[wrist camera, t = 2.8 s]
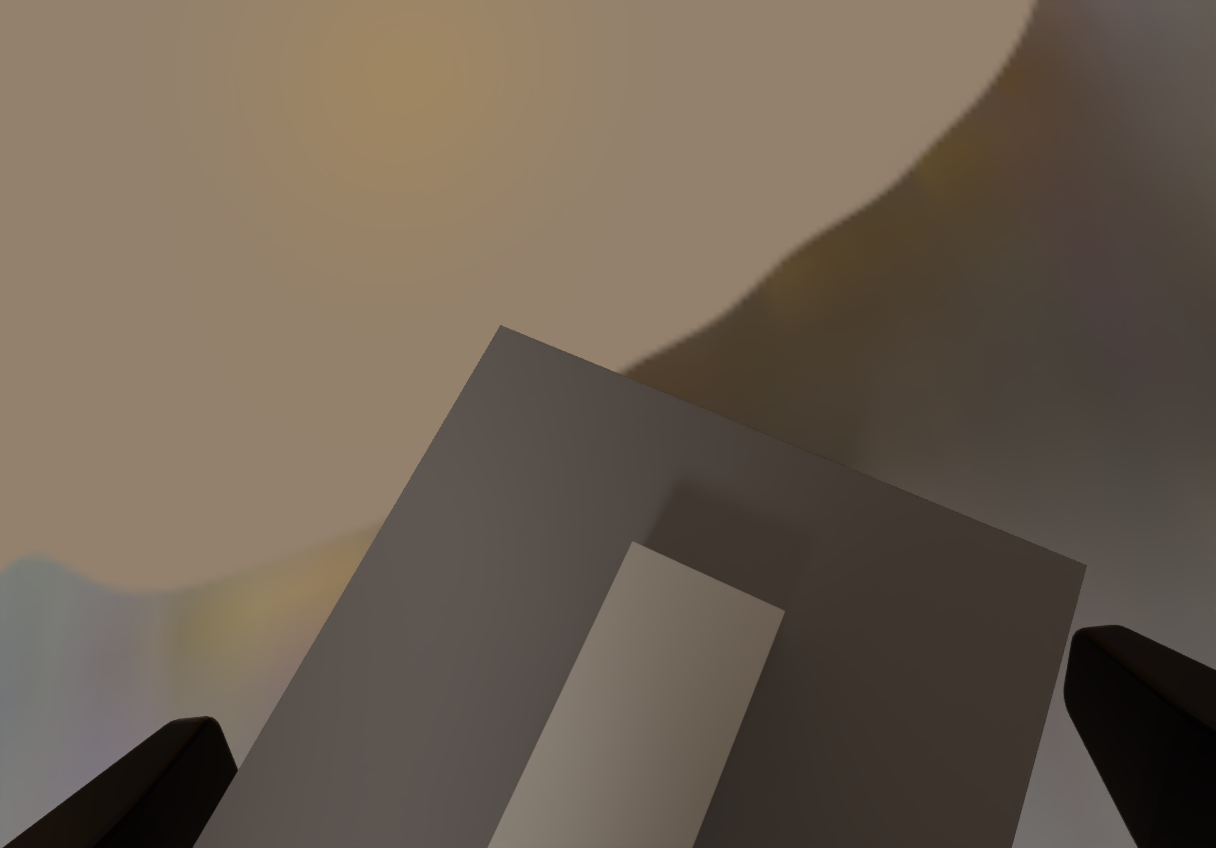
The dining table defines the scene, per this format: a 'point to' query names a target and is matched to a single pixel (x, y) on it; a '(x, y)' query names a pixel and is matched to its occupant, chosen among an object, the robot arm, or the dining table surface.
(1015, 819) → the charger
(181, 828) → the robot arm
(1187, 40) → the dining table surface
